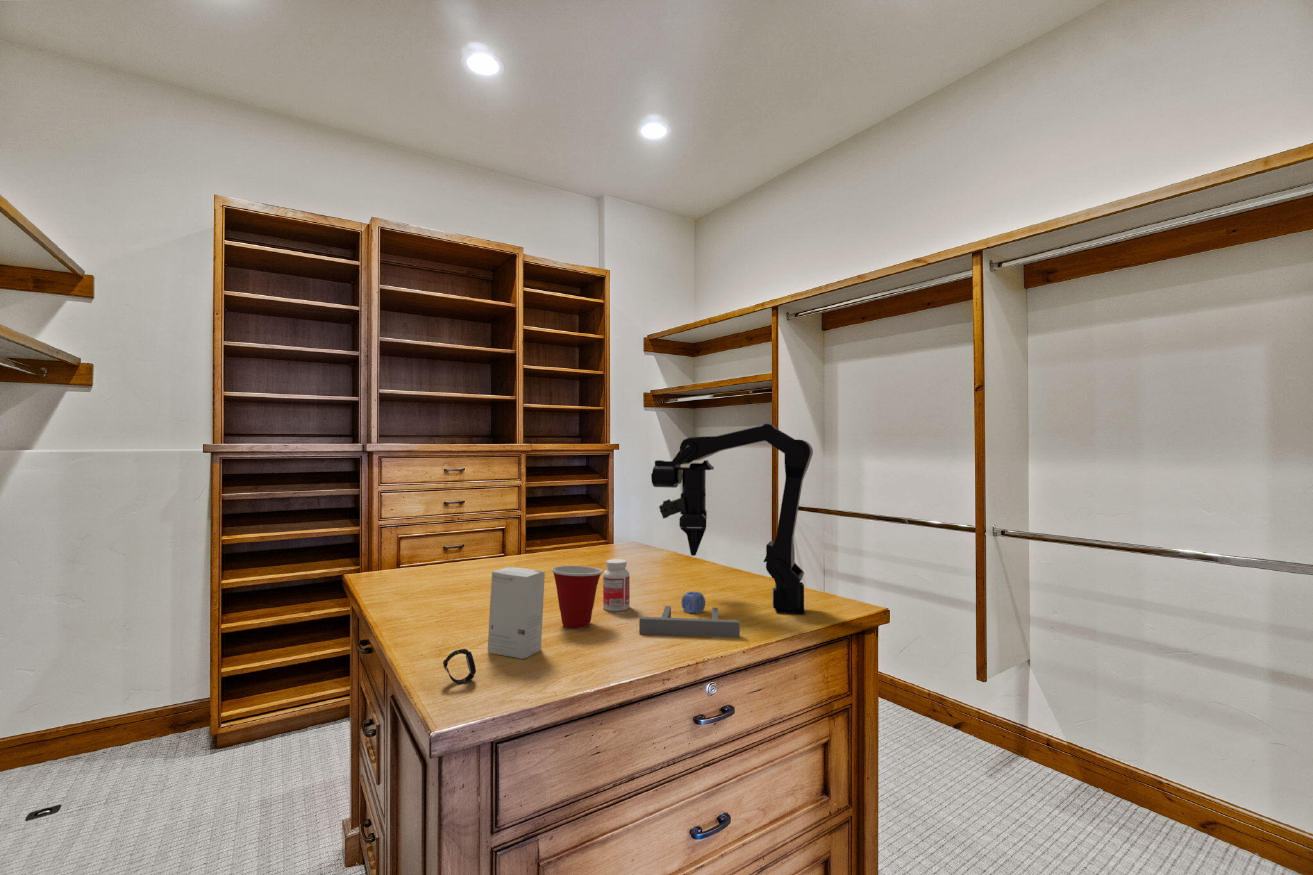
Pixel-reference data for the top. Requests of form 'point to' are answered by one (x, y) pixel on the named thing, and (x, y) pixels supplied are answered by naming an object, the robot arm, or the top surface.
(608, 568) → the pill bottle
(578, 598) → the plastic cup
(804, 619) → the top surface
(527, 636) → the skincare box
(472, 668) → the smartwatch
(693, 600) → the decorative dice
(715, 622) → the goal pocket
